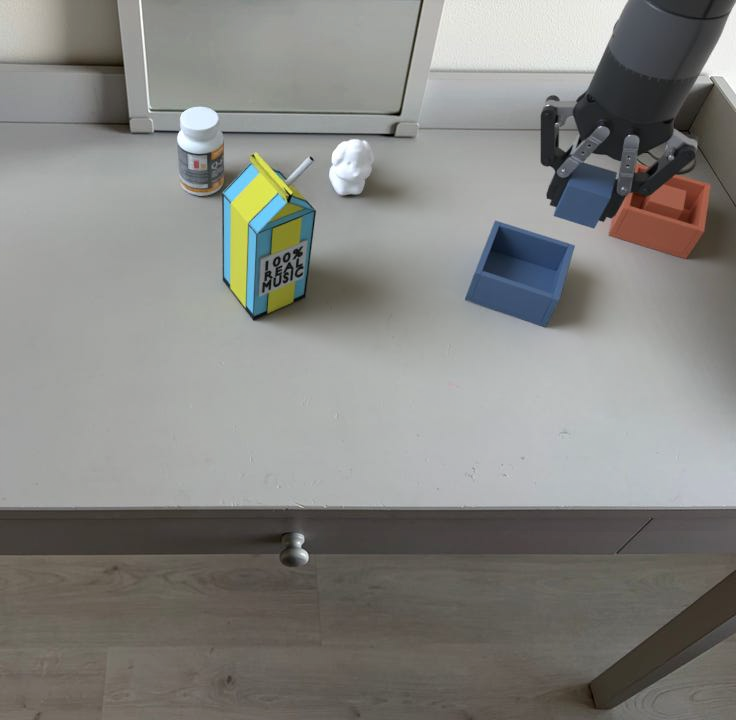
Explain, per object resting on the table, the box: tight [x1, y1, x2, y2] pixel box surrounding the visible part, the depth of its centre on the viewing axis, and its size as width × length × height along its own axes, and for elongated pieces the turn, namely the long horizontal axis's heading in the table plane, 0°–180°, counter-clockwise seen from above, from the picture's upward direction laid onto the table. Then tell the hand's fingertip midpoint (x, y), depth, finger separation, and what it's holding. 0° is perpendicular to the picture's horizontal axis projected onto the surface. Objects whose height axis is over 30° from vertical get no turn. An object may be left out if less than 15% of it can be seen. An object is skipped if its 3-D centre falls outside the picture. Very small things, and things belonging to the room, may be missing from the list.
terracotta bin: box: [608, 162, 712, 260], centre depth 97 cm, size 9×9×5 cm
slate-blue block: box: [553, 161, 618, 229], centre depth 75 cm, size 4×4×4 cm
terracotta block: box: [639, 184, 686, 220], centre depth 97 cm, size 4×4×4 cm
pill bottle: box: [176, 106, 225, 197], centre depth 97 cm, size 6×6×10 cm
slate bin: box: [464, 220, 576, 328], centre depth 90 cm, size 9×9×5 cm
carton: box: [221, 151, 317, 321], centre depth 83 cm, size 7×8×18 cm
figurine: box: [328, 138, 375, 196], centre depth 98 cm, size 5×8×8 cm
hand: (578, 207), depth 76 cm, fingers closed on slate-blue block, 4 cm apart
